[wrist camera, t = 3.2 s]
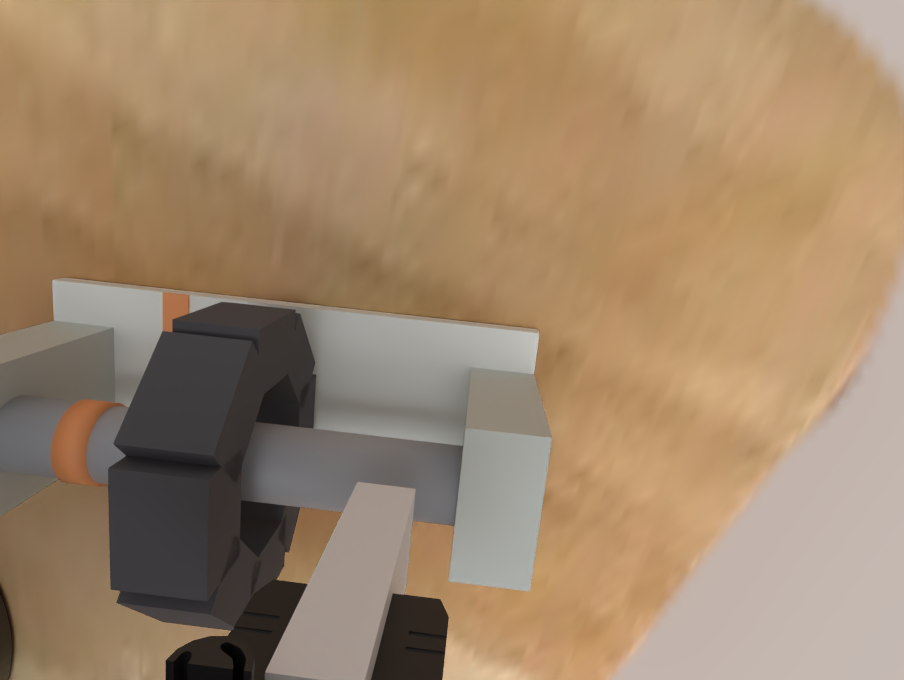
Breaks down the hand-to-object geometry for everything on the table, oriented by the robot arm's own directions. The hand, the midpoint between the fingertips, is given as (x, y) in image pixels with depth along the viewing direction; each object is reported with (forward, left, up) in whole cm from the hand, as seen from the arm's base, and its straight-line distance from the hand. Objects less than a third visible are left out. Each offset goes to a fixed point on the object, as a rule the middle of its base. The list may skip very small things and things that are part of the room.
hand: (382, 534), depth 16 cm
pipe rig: (-5, 0, -9) cm, 11 cm away
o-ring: (-5, 0, -8) cm, 9 cm away
